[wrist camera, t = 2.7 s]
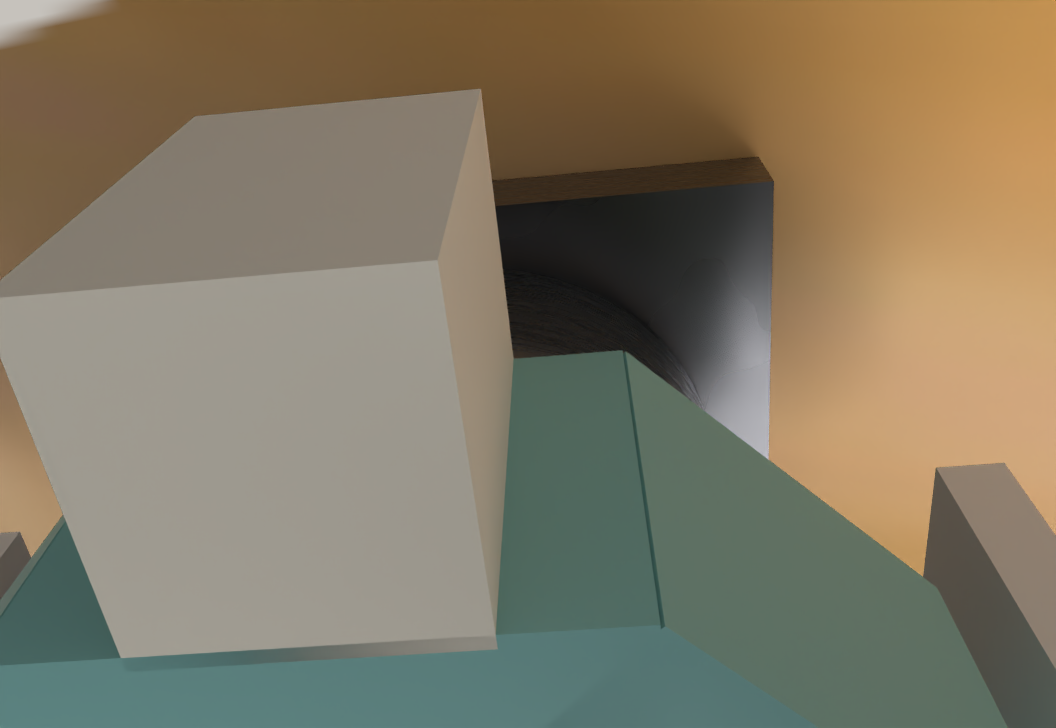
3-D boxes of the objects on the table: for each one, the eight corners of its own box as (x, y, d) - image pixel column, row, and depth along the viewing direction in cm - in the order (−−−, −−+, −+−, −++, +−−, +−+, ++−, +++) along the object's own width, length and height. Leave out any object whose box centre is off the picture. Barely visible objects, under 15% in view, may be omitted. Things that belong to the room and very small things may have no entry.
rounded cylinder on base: (291, 644, 17) (29, 1483, 9) (167, 210, 14) (-526, 922, 5) (753, 615, 17) (974, 1473, 8) (758, 157, 13) (1184, 843, 4)
